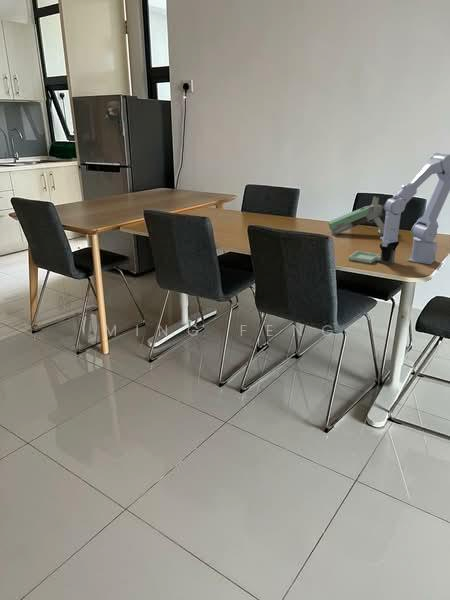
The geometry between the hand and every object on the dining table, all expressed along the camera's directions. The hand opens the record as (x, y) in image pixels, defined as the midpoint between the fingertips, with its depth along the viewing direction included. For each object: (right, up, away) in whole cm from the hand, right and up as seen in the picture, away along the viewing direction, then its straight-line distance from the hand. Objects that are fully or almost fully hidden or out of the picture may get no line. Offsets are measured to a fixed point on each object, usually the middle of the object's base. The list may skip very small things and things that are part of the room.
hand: (387, 259), depth 191 cm
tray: (-8, +1, +6) cm, 10 cm away
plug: (0, -1, +1) cm, 2 cm away
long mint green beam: (+4, +18, +51) cm, 54 cm away
